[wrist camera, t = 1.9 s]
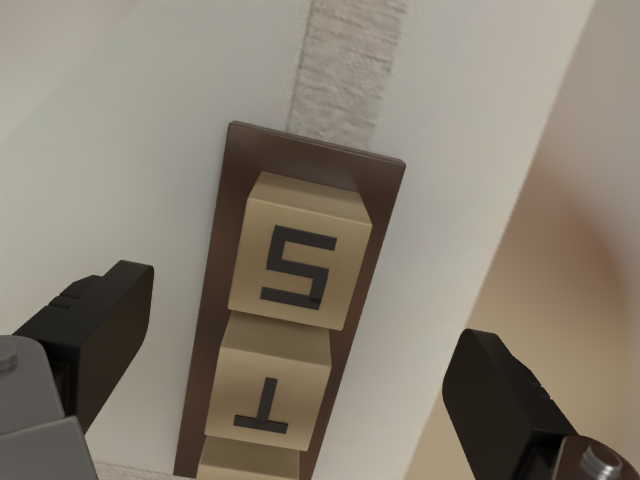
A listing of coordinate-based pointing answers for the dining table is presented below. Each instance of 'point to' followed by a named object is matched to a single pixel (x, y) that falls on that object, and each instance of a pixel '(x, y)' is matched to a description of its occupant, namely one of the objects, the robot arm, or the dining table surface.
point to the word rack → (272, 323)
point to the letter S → (299, 251)
